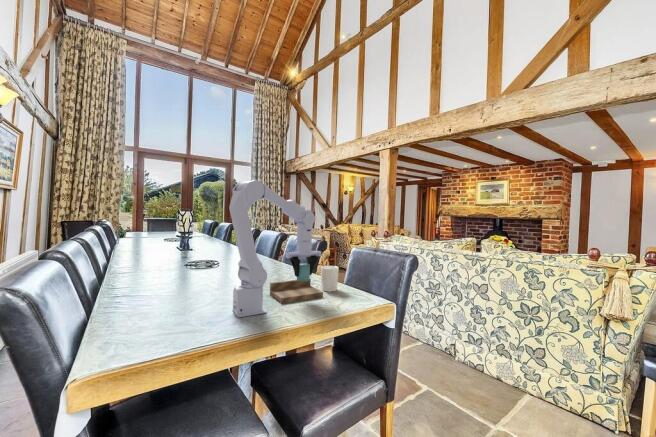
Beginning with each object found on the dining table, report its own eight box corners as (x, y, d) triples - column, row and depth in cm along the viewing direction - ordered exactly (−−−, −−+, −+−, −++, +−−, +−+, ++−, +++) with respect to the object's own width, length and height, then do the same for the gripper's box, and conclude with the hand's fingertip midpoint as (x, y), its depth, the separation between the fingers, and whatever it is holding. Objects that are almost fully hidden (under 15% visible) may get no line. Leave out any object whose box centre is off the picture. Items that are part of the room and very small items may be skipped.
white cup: (338, 287, 129) (339, 266, 129) (337, 292, 121) (338, 269, 121) (321, 286, 130) (322, 265, 130) (319, 291, 122) (319, 268, 122)
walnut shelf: (281, 303, 105) (281, 290, 105) (269, 294, 115) (270, 282, 115) (322, 297, 115) (323, 284, 114) (309, 289, 125) (309, 278, 125)
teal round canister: (300, 281, 107) (300, 266, 107) (294, 278, 112) (295, 263, 111) (311, 280, 110) (312, 265, 110) (305, 277, 114) (306, 262, 114)
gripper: (291, 242, 103) (290, 279, 104) (325, 241, 111) (324, 275, 111) (283, 240, 109) (282, 275, 110) (316, 239, 117) (315, 272, 117)
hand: (303, 275), depth 111 cm, fingers closed on teal round canister, 5 cm apart
